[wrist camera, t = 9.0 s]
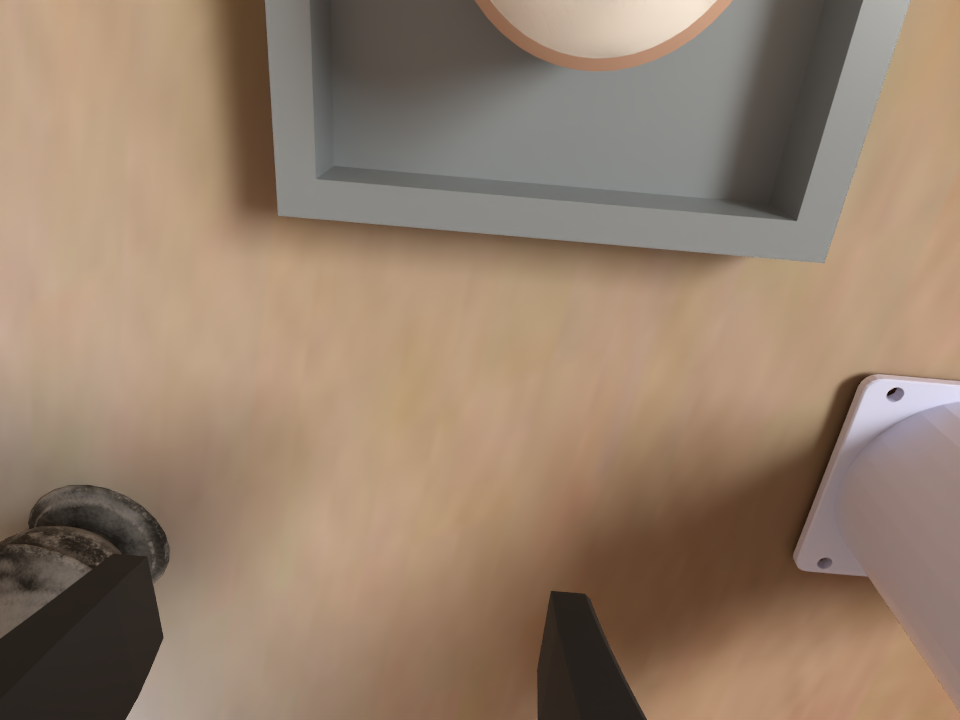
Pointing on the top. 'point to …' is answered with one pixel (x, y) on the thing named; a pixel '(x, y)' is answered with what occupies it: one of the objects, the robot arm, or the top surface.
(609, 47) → the cup
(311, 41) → the tray
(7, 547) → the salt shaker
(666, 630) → the top surface
